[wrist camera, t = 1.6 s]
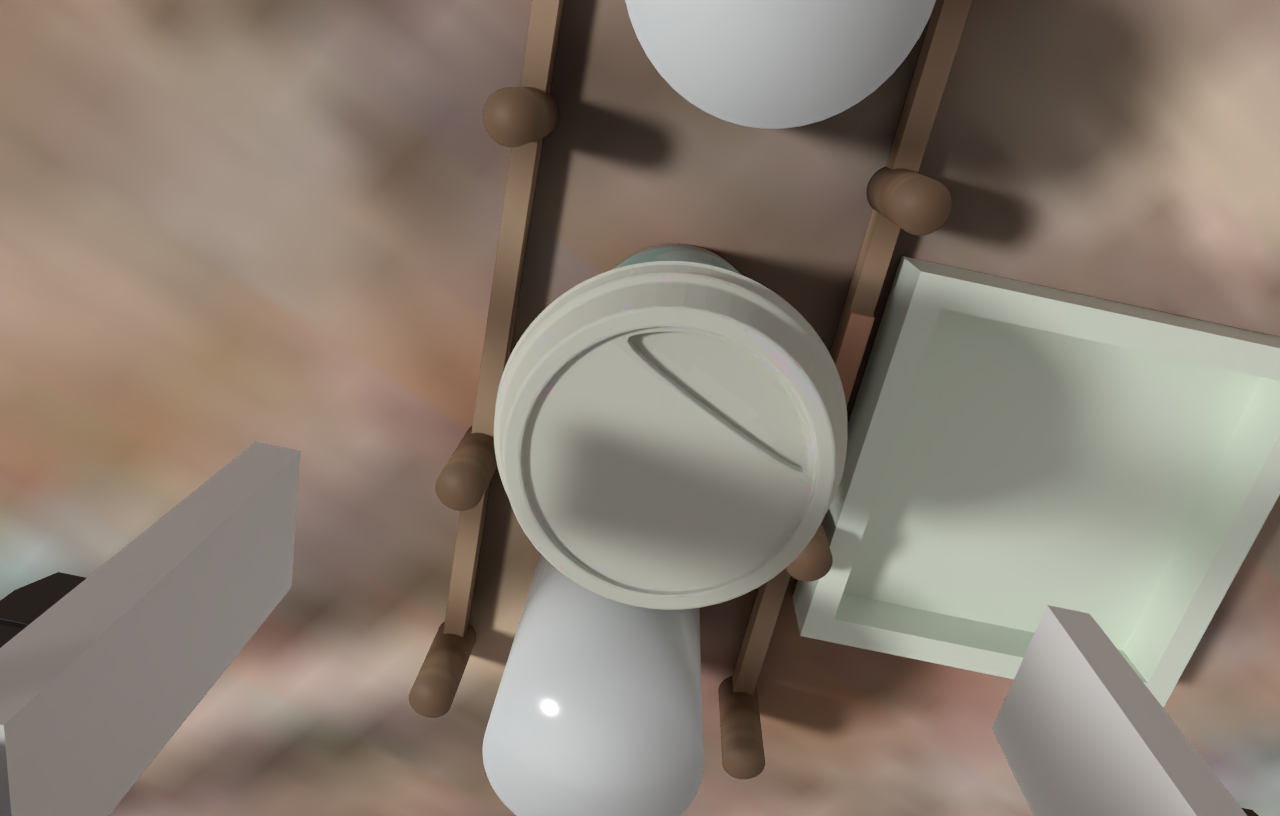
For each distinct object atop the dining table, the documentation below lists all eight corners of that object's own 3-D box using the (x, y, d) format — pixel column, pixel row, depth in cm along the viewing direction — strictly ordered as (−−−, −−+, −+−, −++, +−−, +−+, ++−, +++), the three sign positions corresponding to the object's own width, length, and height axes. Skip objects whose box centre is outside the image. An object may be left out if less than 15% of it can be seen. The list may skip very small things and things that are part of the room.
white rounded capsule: (552, 486, 32) (498, 650, 23) (715, 520, 33) (726, 695, 23) (527, 622, 35) (469, 820, 25) (679, 653, 35) (676, 861, 26)
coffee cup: (825, 394, 30) (905, 575, 19) (606, 463, 32) (562, 669, 21) (754, 164, 28) (799, 219, 17) (517, 251, 29) (412, 357, 18)
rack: (560, -252, 24) (536, -313, 20) (1022, -146, 24) (1084, -188, 20) (436, 646, 35) (406, 712, 32) (751, 709, 36) (759, 782, 32)
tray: (901, 255, 29) (920, 271, 26) (1297, 340, 29) (1351, 363, 27) (792, 597, 34) (800, 635, 31) (1129, 666, 34) (1162, 709, 32)
